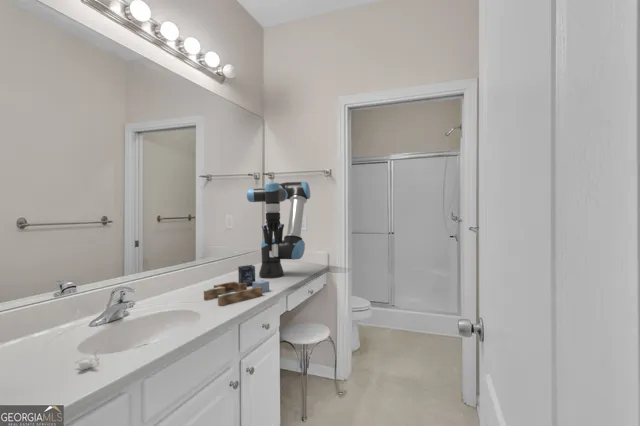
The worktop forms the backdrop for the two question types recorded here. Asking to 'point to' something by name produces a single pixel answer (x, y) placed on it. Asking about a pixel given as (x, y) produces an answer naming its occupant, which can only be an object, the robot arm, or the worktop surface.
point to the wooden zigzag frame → (231, 293)
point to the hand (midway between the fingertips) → (273, 256)
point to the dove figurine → (89, 361)
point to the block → (261, 285)
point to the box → (246, 274)
